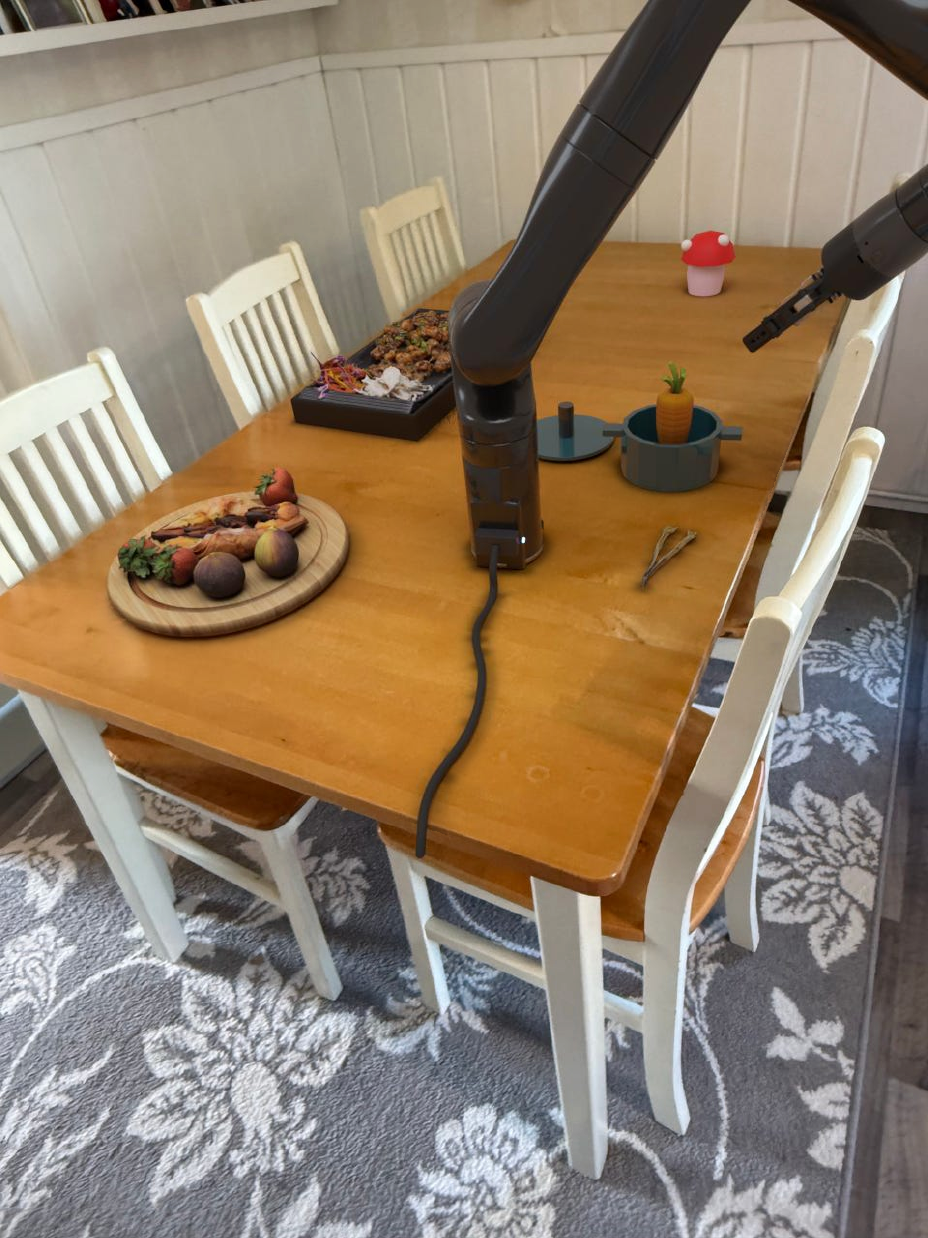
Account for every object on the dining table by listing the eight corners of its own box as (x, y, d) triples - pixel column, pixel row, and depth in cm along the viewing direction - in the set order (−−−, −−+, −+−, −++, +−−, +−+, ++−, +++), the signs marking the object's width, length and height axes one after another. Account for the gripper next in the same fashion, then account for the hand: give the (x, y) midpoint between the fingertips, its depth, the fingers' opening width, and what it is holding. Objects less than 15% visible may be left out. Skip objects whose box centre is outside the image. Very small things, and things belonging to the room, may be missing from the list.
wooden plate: (249, 483, 132) (235, 434, 127) (399, 541, 115) (390, 488, 110) (64, 587, 114) (39, 535, 109) (210, 676, 97) (189, 619, 92)
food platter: (417, 441, 138) (409, 380, 131) (295, 422, 148) (281, 365, 141) (529, 339, 168) (526, 285, 162) (421, 329, 178) (415, 278, 172)
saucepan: (737, 495, 116) (742, 448, 112) (597, 488, 121) (597, 444, 116) (738, 448, 126) (743, 404, 122) (609, 444, 131) (609, 401, 127)
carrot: (688, 473, 121) (696, 372, 111) (652, 473, 122) (657, 372, 112) (688, 457, 124) (696, 357, 115) (653, 456, 125) (658, 358, 116)
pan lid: (607, 466, 126) (608, 427, 122) (511, 462, 129) (508, 425, 125) (619, 421, 136) (619, 385, 133) (529, 419, 140) (527, 383, 136)
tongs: (632, 585, 102) (633, 571, 101) (666, 533, 111) (667, 520, 110) (666, 593, 101) (667, 579, 99) (697, 540, 110) (699, 526, 108)
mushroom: (668, 290, 182) (671, 230, 175) (710, 278, 186) (715, 219, 178) (699, 302, 175) (704, 241, 167) (742, 290, 178) (749, 229, 170)
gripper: (884, 198, 94) (771, 290, 107) (832, 233, 86) (717, 328, 99) (924, 254, 94) (806, 339, 108) (875, 294, 86) (755, 380, 100)
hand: (763, 333), depth 104 cm, fingers open, 8 cm apart
